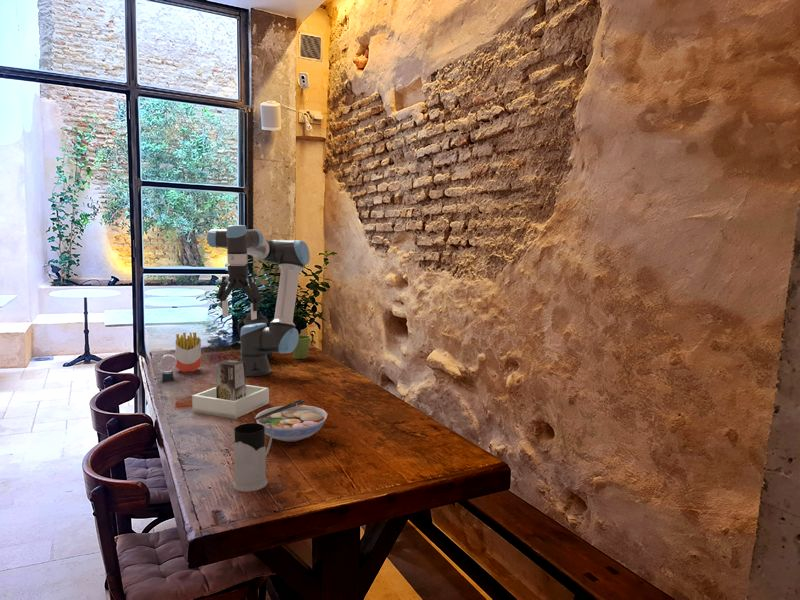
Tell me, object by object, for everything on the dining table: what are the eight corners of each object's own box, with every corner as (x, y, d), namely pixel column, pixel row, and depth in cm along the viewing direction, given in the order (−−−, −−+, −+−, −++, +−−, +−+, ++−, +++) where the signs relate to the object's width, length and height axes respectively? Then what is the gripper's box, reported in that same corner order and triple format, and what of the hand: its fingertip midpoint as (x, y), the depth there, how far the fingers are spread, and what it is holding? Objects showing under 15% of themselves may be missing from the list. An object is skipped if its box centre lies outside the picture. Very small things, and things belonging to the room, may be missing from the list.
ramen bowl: (290, 459, 155) (290, 432, 154) (236, 442, 167) (236, 417, 166) (344, 433, 176) (344, 409, 175) (292, 420, 188) (292, 397, 187)
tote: (192, 411, 195) (192, 395, 194) (229, 396, 214) (228, 382, 213) (235, 418, 188) (234, 402, 188) (268, 403, 207) (268, 388, 206)
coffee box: (246, 403, 202) (246, 361, 200) (235, 408, 196) (234, 365, 194) (227, 400, 206) (226, 358, 204) (215, 404, 200) (214, 362, 198)
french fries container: (200, 371, 253) (199, 333, 251) (175, 372, 251) (174, 334, 248) (201, 368, 258) (200, 332, 256) (177, 369, 255) (176, 332, 253)
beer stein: (268, 362, 274) (267, 313, 271) (230, 361, 274) (229, 313, 271) (275, 355, 291) (275, 309, 288) (240, 354, 291) (239, 308, 288)
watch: (157, 378, 239) (156, 354, 238) (177, 376, 242) (176, 353, 241) (157, 381, 234) (156, 356, 233) (177, 379, 237) (176, 355, 236)
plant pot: (293, 354, 292) (293, 334, 291) (314, 355, 291) (314, 335, 290) (285, 359, 281) (285, 338, 280) (307, 360, 279) (307, 339, 278)
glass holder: (225, 487, 137) (224, 431, 135) (258, 466, 150) (258, 414, 148) (254, 494, 134) (253, 436, 132) (285, 471, 147) (285, 418, 145)
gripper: (205, 264, 210) (207, 317, 214) (258, 266, 202) (260, 321, 205) (218, 262, 217) (220, 314, 221) (270, 265, 209) (271, 318, 212)
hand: (239, 318), depth 213 cm, fingers open, 13 cm apart
